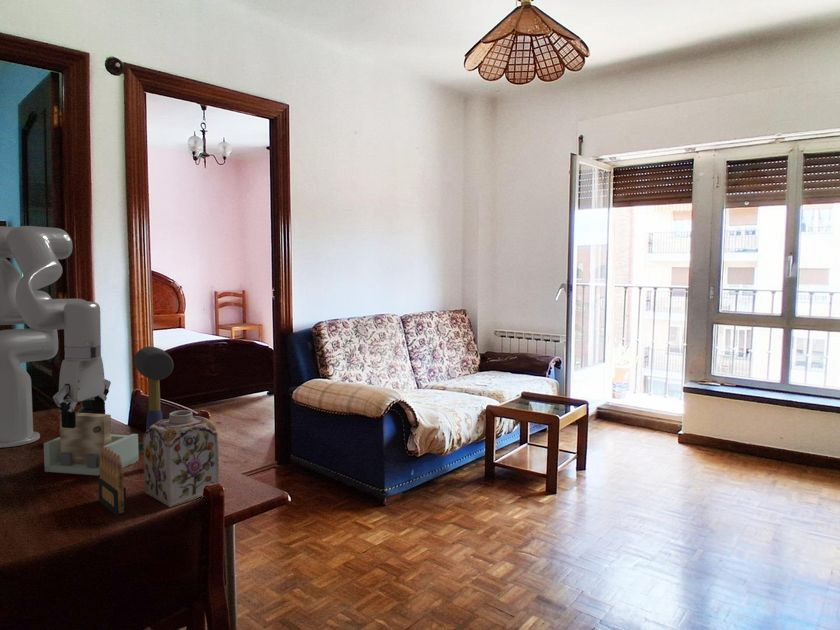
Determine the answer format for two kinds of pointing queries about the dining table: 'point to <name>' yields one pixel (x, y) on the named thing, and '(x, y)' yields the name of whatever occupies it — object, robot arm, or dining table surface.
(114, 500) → the ammunition clip
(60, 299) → the robot arm
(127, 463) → the cabinet
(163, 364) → the rubber mallet
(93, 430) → the wooden block
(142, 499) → the dining table surface
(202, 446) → the decorative jar
